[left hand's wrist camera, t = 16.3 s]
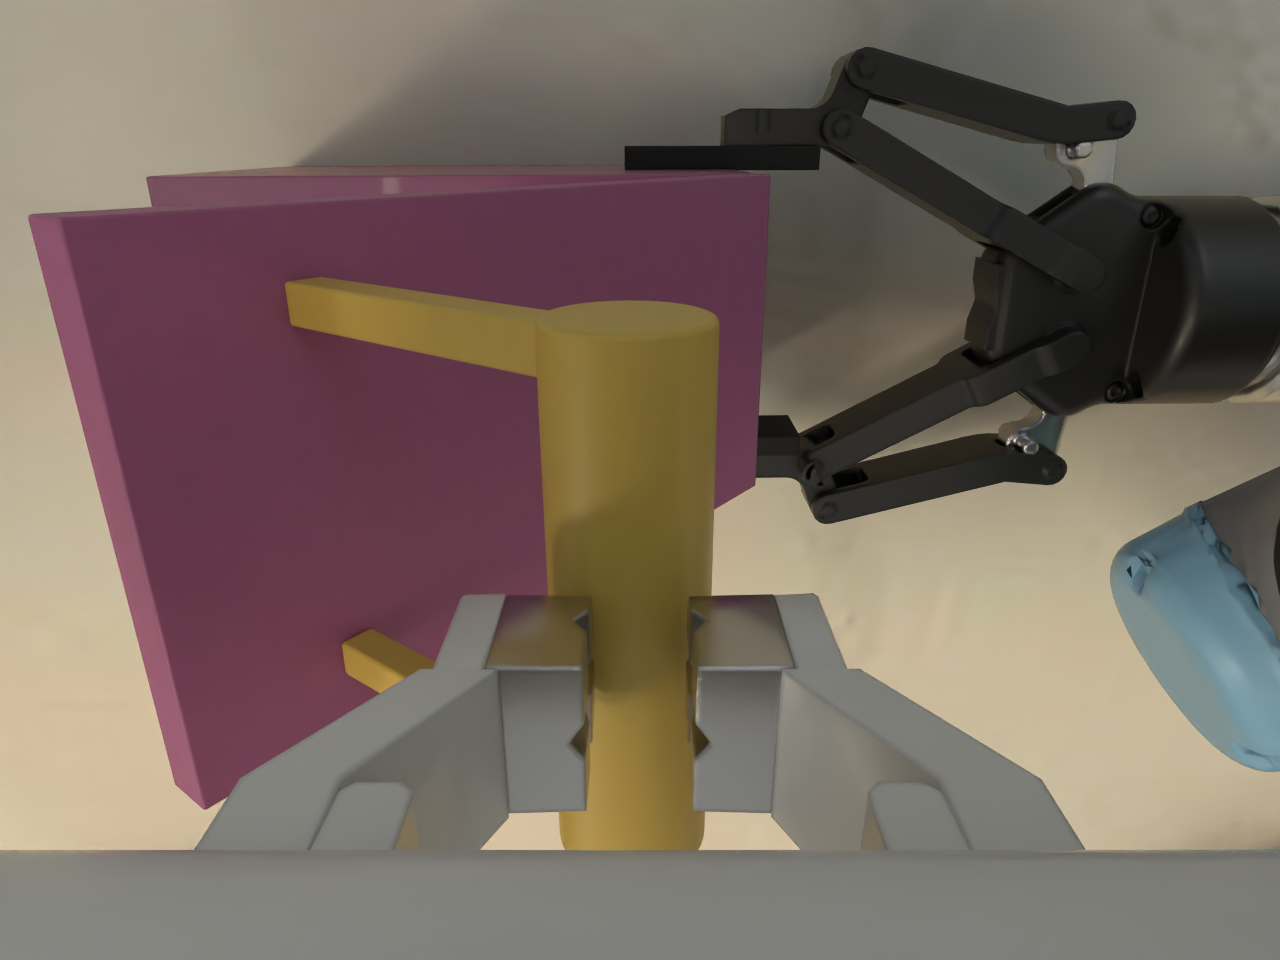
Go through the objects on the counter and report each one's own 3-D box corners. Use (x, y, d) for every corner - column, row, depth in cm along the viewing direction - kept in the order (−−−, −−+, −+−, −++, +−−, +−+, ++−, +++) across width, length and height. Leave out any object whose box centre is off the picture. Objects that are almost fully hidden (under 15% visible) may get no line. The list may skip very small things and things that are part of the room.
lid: (174, 785, 15) (533, 1103, 10) (26, 214, 11) (467, 264, 6) (728, 478, 28) (997, 548, 23) (739, 173, 24) (1060, 179, 20)
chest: (321, 388, 38) (208, 481, 28) (288, 166, 35) (144, 176, 24) (708, 385, 39) (739, 475, 28) (714, 164, 35) (752, 173, 25)
